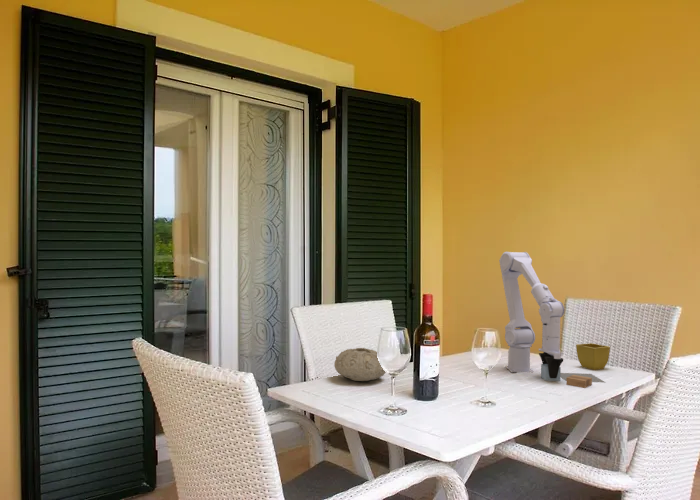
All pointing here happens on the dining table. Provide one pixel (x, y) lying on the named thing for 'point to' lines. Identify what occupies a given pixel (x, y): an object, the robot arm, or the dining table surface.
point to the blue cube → (546, 373)
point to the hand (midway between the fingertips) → (550, 376)
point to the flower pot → (593, 355)
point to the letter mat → (594, 378)
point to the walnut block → (579, 381)
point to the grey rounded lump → (359, 364)
